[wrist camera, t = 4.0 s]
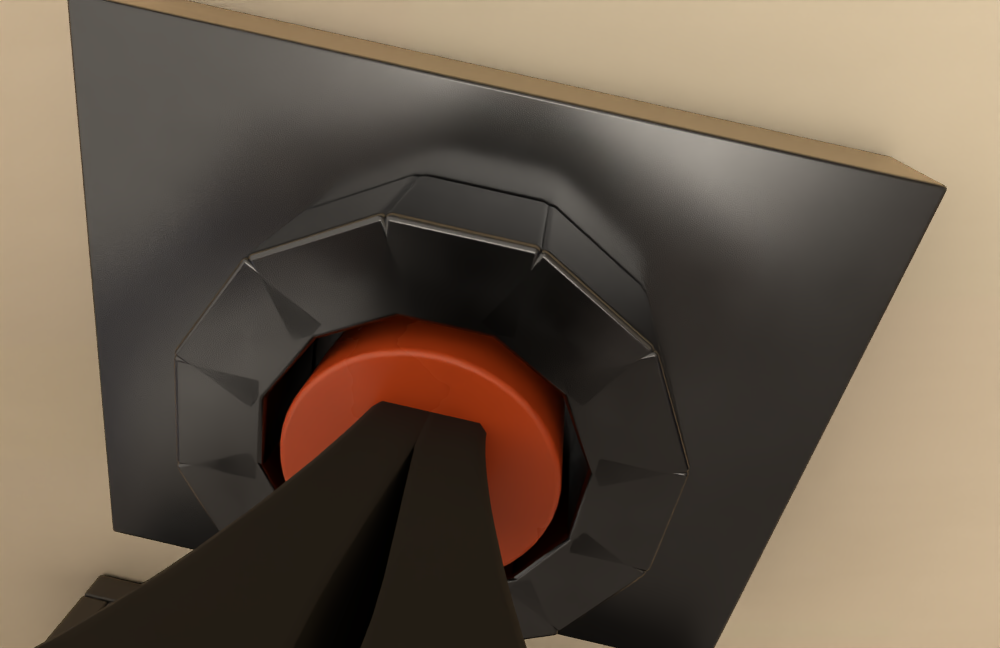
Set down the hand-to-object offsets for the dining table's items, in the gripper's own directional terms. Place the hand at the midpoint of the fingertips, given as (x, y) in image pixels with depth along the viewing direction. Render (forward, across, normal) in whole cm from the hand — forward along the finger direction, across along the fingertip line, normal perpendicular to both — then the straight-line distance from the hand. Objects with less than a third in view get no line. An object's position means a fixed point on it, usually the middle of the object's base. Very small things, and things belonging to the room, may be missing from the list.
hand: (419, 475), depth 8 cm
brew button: (+2, 0, 0) cm, 2 cm away
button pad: (+4, 0, 0) cm, 4 cm away
